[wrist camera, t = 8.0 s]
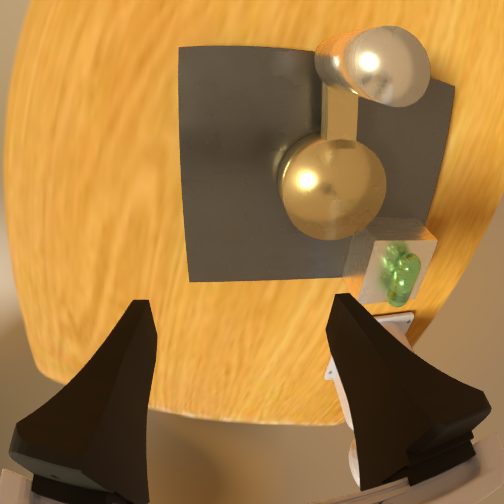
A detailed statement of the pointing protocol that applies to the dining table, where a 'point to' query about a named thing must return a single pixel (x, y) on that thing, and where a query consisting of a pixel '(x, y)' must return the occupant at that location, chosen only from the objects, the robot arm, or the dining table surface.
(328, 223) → the gold rounded piece
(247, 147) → the instrument base
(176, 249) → the dining table surface
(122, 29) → the dining table surface
